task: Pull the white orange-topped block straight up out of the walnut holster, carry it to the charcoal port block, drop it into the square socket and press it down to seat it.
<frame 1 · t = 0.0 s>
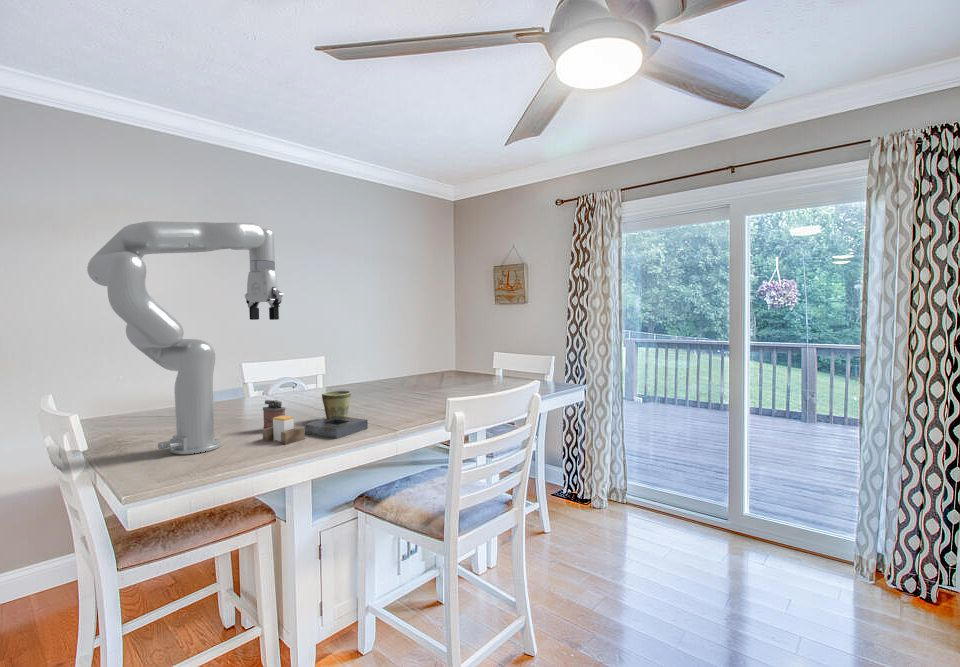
hand: (264, 319, 158), 37 cm above the table, tool pointing down, fingers open, 9 cm apart
green plant pot: (338, 419, 175), on the table
white orange-topped block: (283, 439, 148), on the table
holster: (283, 439, 148), on the table
lighter: (274, 430, 160), on the table
port block: (336, 431, 158), on the table
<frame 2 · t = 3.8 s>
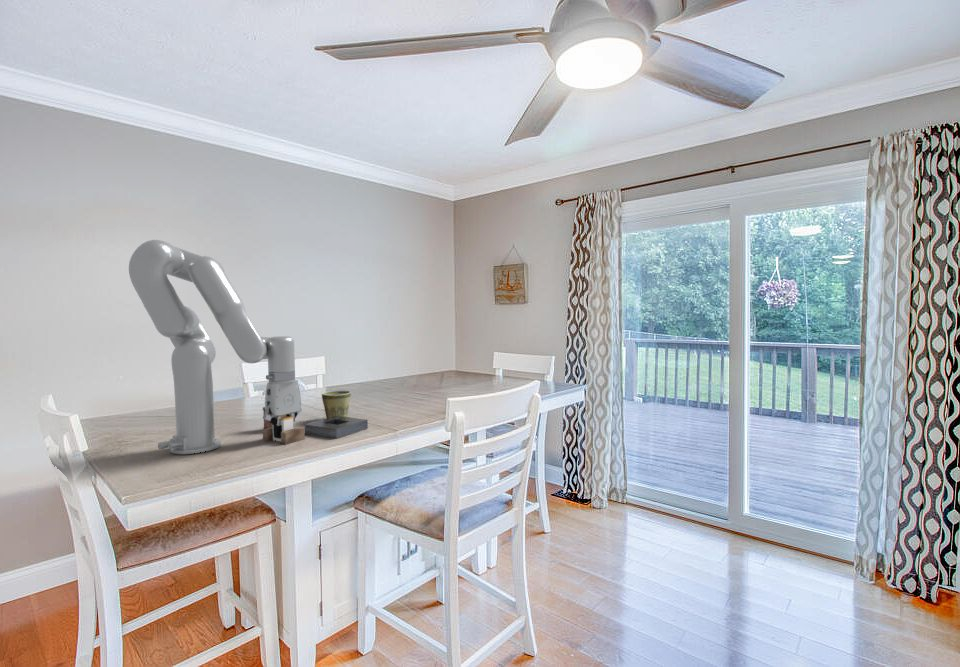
hand: (283, 435, 148), 1 cm above the table, tool pointing down, fingers closed on white orange-topped block, 3 cm apart
white orange-topped block: (283, 439, 148), on the table, touching gripper
everything else where it was.
when the fingers open (5 cm above the table, at t = 9.6 s): white orange-topped block drops 2 cm, resting on port block.
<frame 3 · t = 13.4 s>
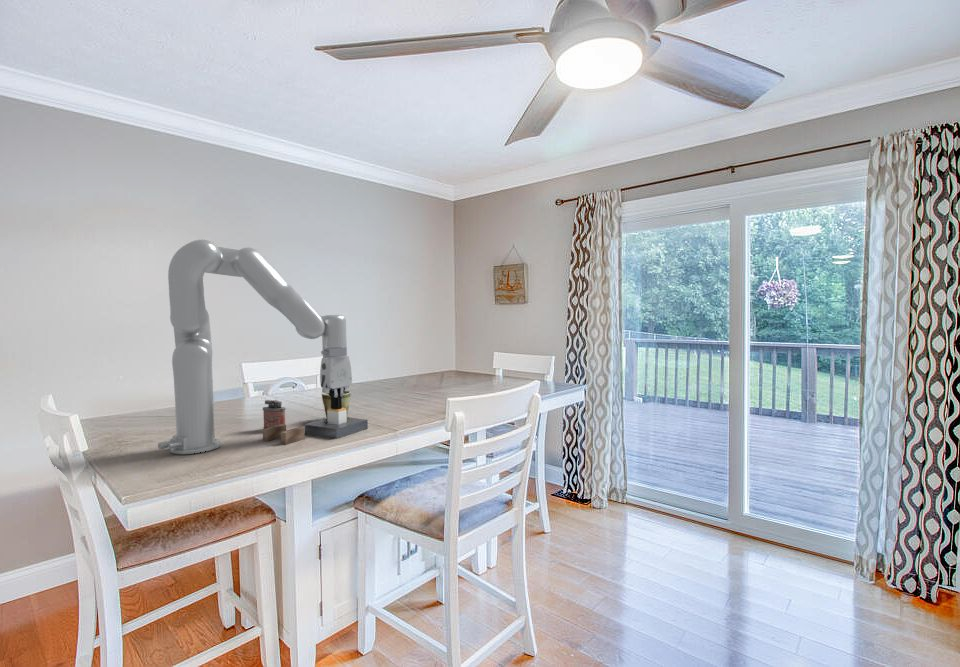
hand: (336, 408, 157), 7 cm above the table, tool pointing down, fingers closed
white orange-topped block: (337, 429, 158), resting on port block, touching gripper
everything else where it was.
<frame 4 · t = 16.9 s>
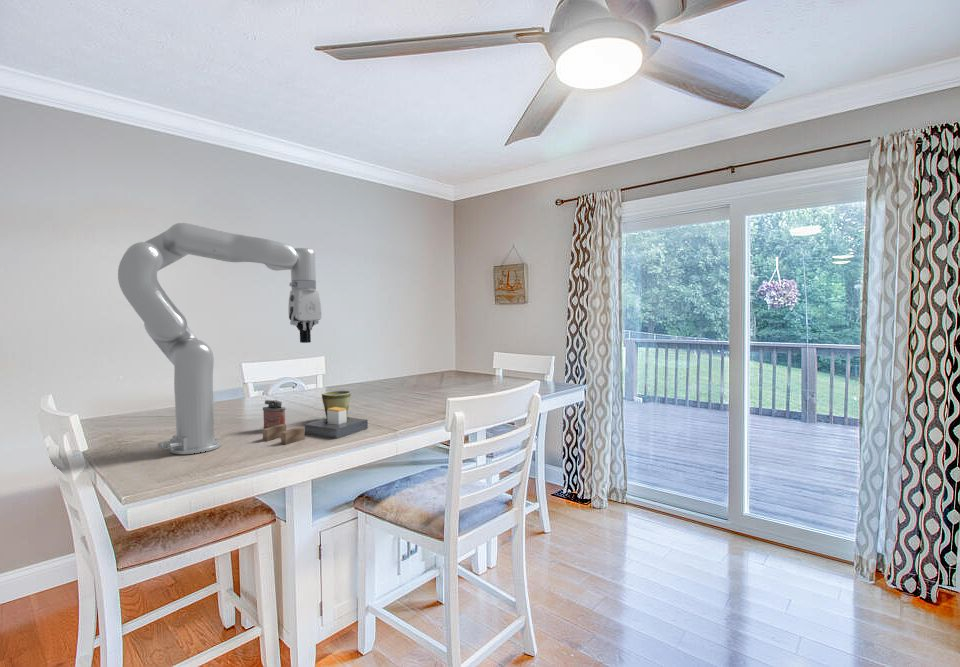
hand: (305, 342, 158), 29 cm above the table, tool pointing down, fingers closed
white orange-topped block: (337, 429, 158), resting on port block
everything else where it was.
at the end: white orange-topped block 0.3 cm off-centre on the port block, point 0.4 cm above the port block's base; white orange-topped block tilted 0°; the gripper is holding nothing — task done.
